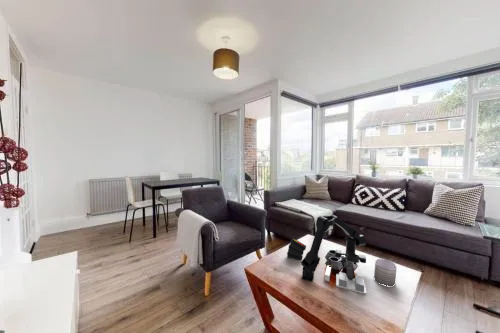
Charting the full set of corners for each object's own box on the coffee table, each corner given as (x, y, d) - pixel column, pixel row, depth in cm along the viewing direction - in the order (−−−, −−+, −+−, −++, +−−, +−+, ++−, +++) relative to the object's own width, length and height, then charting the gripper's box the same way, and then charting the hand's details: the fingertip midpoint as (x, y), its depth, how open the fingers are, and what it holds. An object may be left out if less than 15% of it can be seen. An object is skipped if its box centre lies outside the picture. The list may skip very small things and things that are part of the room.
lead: (353, 280, 126) (353, 275, 126) (347, 279, 127) (347, 273, 127) (351, 266, 141) (352, 261, 141) (346, 265, 143) (346, 260, 142)
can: (398, 284, 126) (400, 265, 125) (389, 289, 120) (390, 270, 120) (379, 274, 136) (381, 257, 135) (369, 278, 130) (371, 261, 129)
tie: (326, 270, 138) (327, 265, 138) (330, 271, 137) (331, 266, 137) (324, 280, 127) (325, 274, 127) (328, 281, 126) (329, 275, 126)
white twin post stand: (336, 286, 122) (336, 278, 121) (336, 275, 133) (336, 268, 132) (366, 294, 116) (367, 286, 115) (363, 282, 127) (364, 274, 126)
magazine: (283, 252, 157) (292, 237, 154) (298, 263, 154) (308, 247, 151) (282, 255, 153) (292, 239, 150) (298, 265, 150) (308, 249, 147)
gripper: (335, 248, 134) (334, 270, 135) (368, 254, 127) (366, 278, 128) (336, 241, 144) (334, 262, 146) (365, 247, 137) (364, 269, 138)
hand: (349, 268), depth 139 cm, fingers closed on lead, 4 cm apart
